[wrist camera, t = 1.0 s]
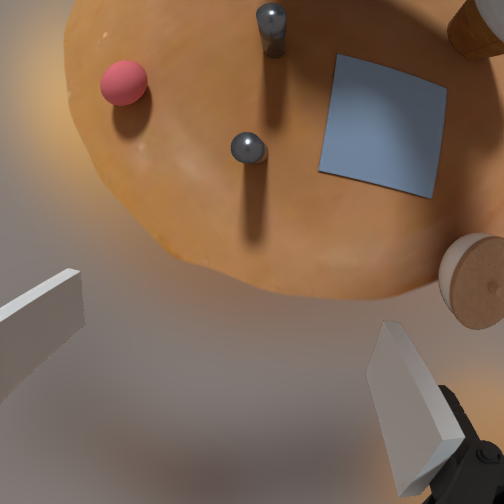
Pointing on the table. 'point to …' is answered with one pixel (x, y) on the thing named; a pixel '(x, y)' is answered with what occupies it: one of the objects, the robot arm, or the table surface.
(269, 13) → the post
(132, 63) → the ball
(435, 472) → the robot arm
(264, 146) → the post
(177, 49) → the table surface
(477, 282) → the lidded jar
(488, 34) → the disposable coffee cup
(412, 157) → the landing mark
